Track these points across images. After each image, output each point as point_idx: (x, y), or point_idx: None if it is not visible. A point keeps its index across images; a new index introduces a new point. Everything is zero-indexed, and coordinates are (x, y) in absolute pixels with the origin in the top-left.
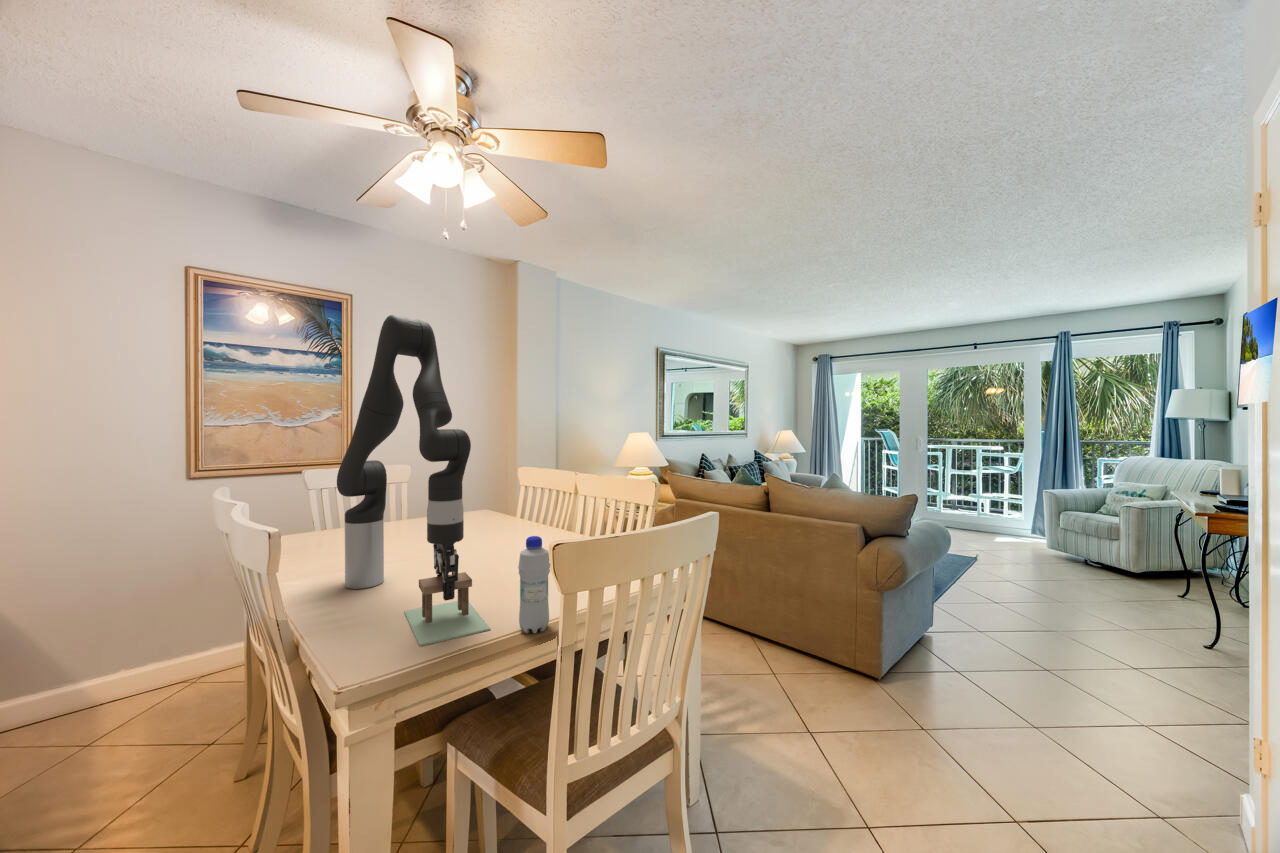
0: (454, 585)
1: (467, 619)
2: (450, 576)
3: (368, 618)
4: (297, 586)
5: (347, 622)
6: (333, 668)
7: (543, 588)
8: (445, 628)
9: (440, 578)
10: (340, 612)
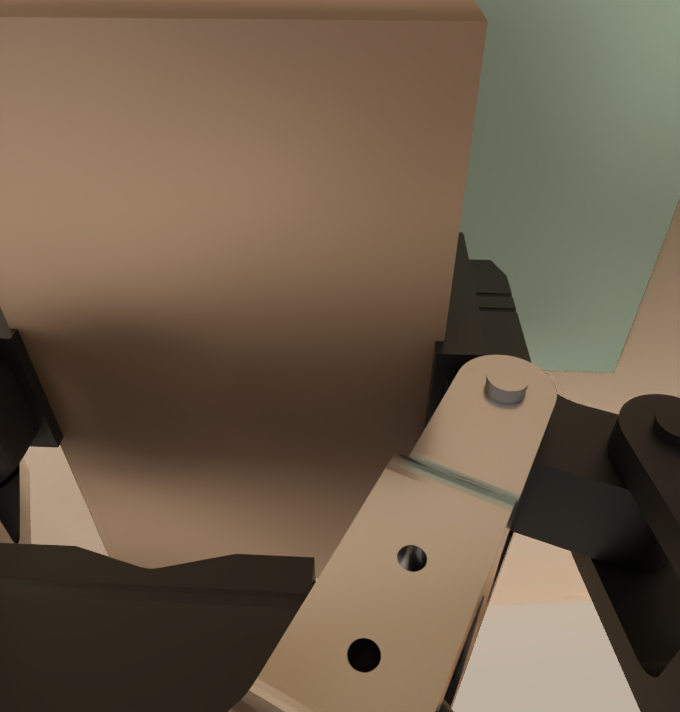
0: (479, 320)
1: None
2: (660, 547)
3: (58, 477)
4: None
5: (83, 533)
6: (543, 592)
7: None
8: (487, 201)
9: (156, 427)
10: None
